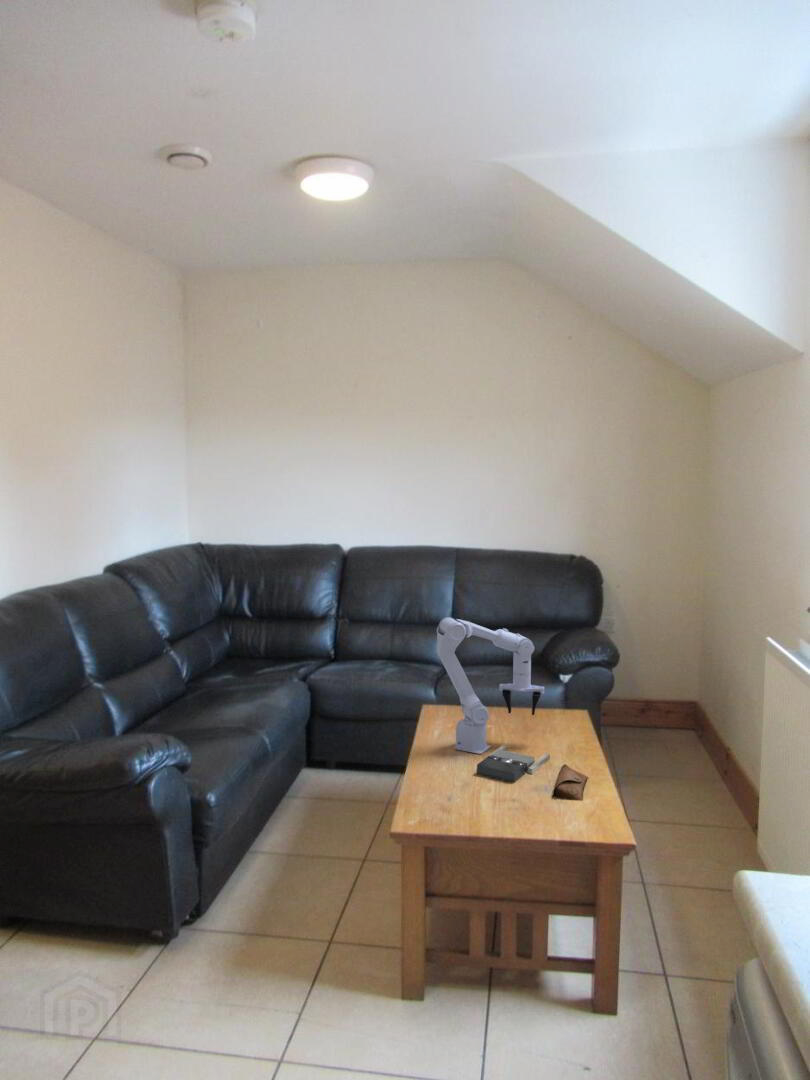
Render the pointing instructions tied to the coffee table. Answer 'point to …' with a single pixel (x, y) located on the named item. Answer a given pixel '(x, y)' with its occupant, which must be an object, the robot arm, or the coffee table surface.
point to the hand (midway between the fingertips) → (521, 713)
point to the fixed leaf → (501, 769)
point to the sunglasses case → (569, 784)
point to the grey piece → (514, 757)
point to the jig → (535, 765)
